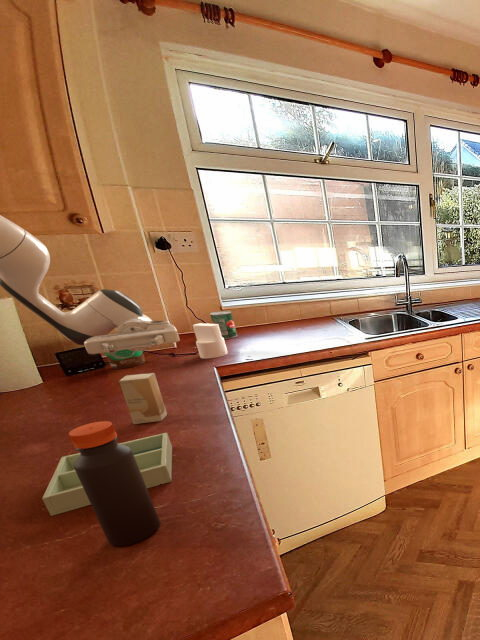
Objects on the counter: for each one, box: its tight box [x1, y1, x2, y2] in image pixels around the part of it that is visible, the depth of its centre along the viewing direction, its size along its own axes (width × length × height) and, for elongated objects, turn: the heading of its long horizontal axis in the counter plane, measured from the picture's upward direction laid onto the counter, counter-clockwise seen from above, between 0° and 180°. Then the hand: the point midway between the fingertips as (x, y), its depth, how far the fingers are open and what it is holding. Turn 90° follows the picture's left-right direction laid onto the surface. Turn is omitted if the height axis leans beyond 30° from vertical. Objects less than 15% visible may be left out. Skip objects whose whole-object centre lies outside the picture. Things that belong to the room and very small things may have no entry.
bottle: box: [68, 420, 161, 547], centre depth 68 cm, size 7×7×20 cm
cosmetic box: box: [118, 372, 168, 425], centre depth 109 cm, size 6×4×12 cm
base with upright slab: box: [192, 322, 229, 360], centre depth 162 cm, size 9×9×12 cm
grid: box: [41, 432, 173, 517], centre depth 86 cm, size 17×17×4 cm
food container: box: [103, 349, 146, 369], centre depth 151 cm, size 12×6×10 cm, turn 147°
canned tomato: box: [209, 310, 238, 340], centre depth 186 cm, size 8×8×11 cm
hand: (132, 346), depth 114 cm, fingers open, 8 cm apart
